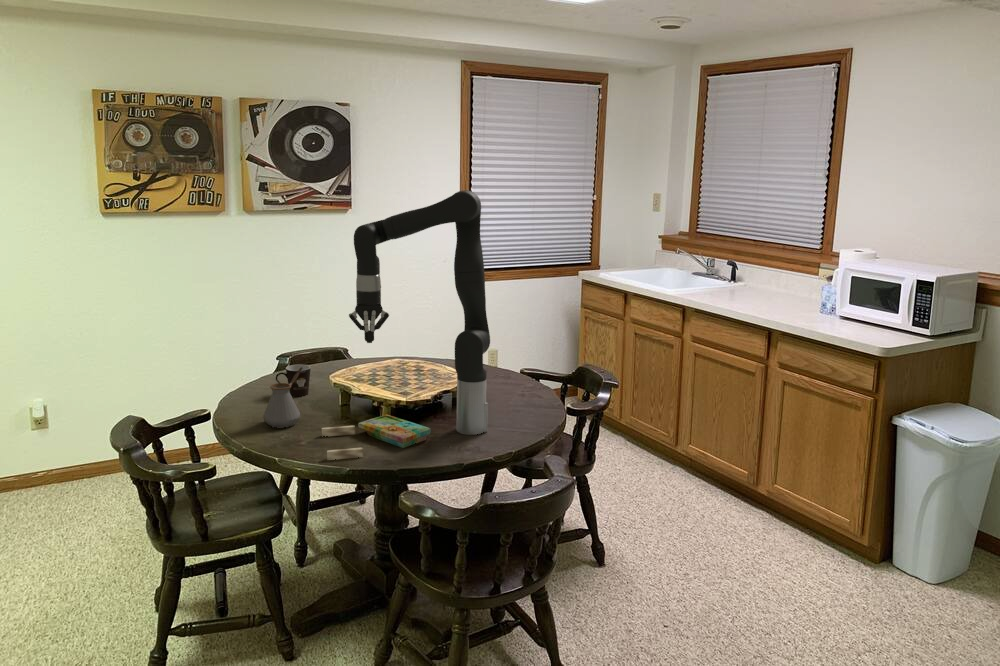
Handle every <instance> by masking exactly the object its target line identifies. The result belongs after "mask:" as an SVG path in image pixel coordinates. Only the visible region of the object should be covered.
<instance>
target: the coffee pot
mask: <svg viewBox="0 0 1000 666" xmlns="http://www.w3.org/2000/svg"><path fill="white" fill-rule="evenodd" d="M302 369H304V368H302V367H301V368H300V369H299V370H298V371H297V373H296V374H295V375H294V377H293V379H292V380H291V382H290V384H288V382H280V383H278V382H277V383H274V384H270V386H269V388H270V389H271V393H272V394H271V396H270V398H269V400H268V403H267V405H266V407H265V411H264V413H263V415H262V418H263V420H264V422H265V423H266V424H267V425H269V426H270V425H271V426H272V427H271V426H270V427H271V428H274V427H277V428H276V429H284V427H286V428H290V427H293V426H294V425H295V423H297V422H298V421H299V419H300V417H301V413H300V410H299V408H298V407H297V405H296V402H295V401H294V398H293V397H292V396H291V394H290V391H289V390H290V388H291V385H292V384H293V383H294V381H295V380H296V379H297V378H298V375H299V374H300V373H301V371H302ZM304 370H305V369H304ZM289 426H290V427H289Z"/></svg>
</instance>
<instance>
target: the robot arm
mask: <svg viewBox="0 0 1000 666" xmlns="http://www.w3.org/2000/svg"><path fill="white" fill-rule="evenodd" d="M481 217H482V203H481V200H480V197H479V196H478V195H477V194H476V193H475V192H473V191H472V190H468V189H467V190H459V191H457V192H455V193H453V194H452V195H450V196H448V197H446V198H444V199H443V200H441V201H438V202H436V203H434V204H431V205H427V206H423V207H421V208H416V209H411V210H408V211H405V212H400V213H398V214H394V215H391V216H389V217H386V218H384V219H381V220H377V221H372V222H368V223H365V224H361V225H359V226H358V227H357V228H356V229H355V230H354V234H353V246H354V252H355V256H356V257H355V258H356V280H355V281H356V283H355V286H356V289H355V290H356V293H355V294H356V305H355V307H354V311H352V312H351V313H349V314H348V318H350V320H351V321H352V323H354V324H355V326H356V327H357V328H358V329H359V330H360V331H364V333H363V334H364V341H365V342H366V343H367V344H372V343H373V342H374V340H375V331H376V330H380V329H381V328H382V326H383V325H384V323H385V322H386V321H387V319H388V318H389V317H390V314H389V313H388V312H387V311H385V310H383V306H382V292H381V291H382V283H381V282H382V281H381V274H380V273H381V271H380V270H381V269H380V268H381V267H380V265H381V264H380V263H381V262H380V257H379V256H378V254H377V245H379V244H382V243H385V242H389V241H391V240H392V241H393V240H397V239H401V238H404V237H408V236H411V235H414V234H417V233H420V232H422V231H425V230H427V229H430V228H432V227H436V226H440V225H444V224H450V223H451V224H452V223H455V230H456V232H455V233H456V245H455V252H454V260H453V261H454V262H453V271H454V273H453V275H454V285H455V289H456V294H457V297H458V299H459V302H460V303H461V306H462V309H463V310H462V311H463V314H464V318H463V319H464V330H463V331H462V332H460V333H459V334H458V335H457V336H456V338H455V341H454V369H455V372H456V381H457V382H456V424H455V425H456V432H458V433H459V434H460V435H461V434H462V435H466V436H476V435H477V434H478V435H481V433H482V434H483V432H484V433H488V416H489V415H488V414H489V412H488V411H489V403H488V402H487V376H488V374H487V370H486V368H484V354H485V353H486V352H487V351H488V350H489V348H490V344H491V335H490V329H489V322H488V317H487V316H488V315H487V305H486V304H487V303H486V300H487V299H486V298H487V297H486V277H485V275H486V274H485V264H484V262H485V261H484V255H483V253H484V252H483V247H482V240H481ZM379 316H380V318H379ZM358 317H359V318H360V319H361V320H362V322H363V325H362V324H361V322H360V321H359V320H358ZM378 318H379V319H378ZM377 319H378V321H377V322H376V320H377Z"/></svg>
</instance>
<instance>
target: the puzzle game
mask: <svg viewBox="0 0 1000 666" xmlns="http://www.w3.org/2000/svg"><path fill="white" fill-rule="evenodd" d="M357 425H358V428H359V429H361V430H363V431H366V433H367V435H368V436H369V437H372V438H375V439H377V440H379V441H383V442H385V443H388V444H390V445H393V446H397V447H398V448H402V449H404V448H407V447H410V446H413V445H416V444H418V443H421V442H423V441H426V440H427V438H429V436H430V434H431V433H432V431H431V430H432V429H431V428H430V427H428V426H424V425H421V424H418V423H415V422H412V421H408V420H406V419H402V418H399V417H396V416H393V415H390V414H387V413H386V414H383V415H381V416H377V417H374V418H370V419H367V420H364V421H360V422H358V423H357ZM415 443H416V444H415Z"/></svg>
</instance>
